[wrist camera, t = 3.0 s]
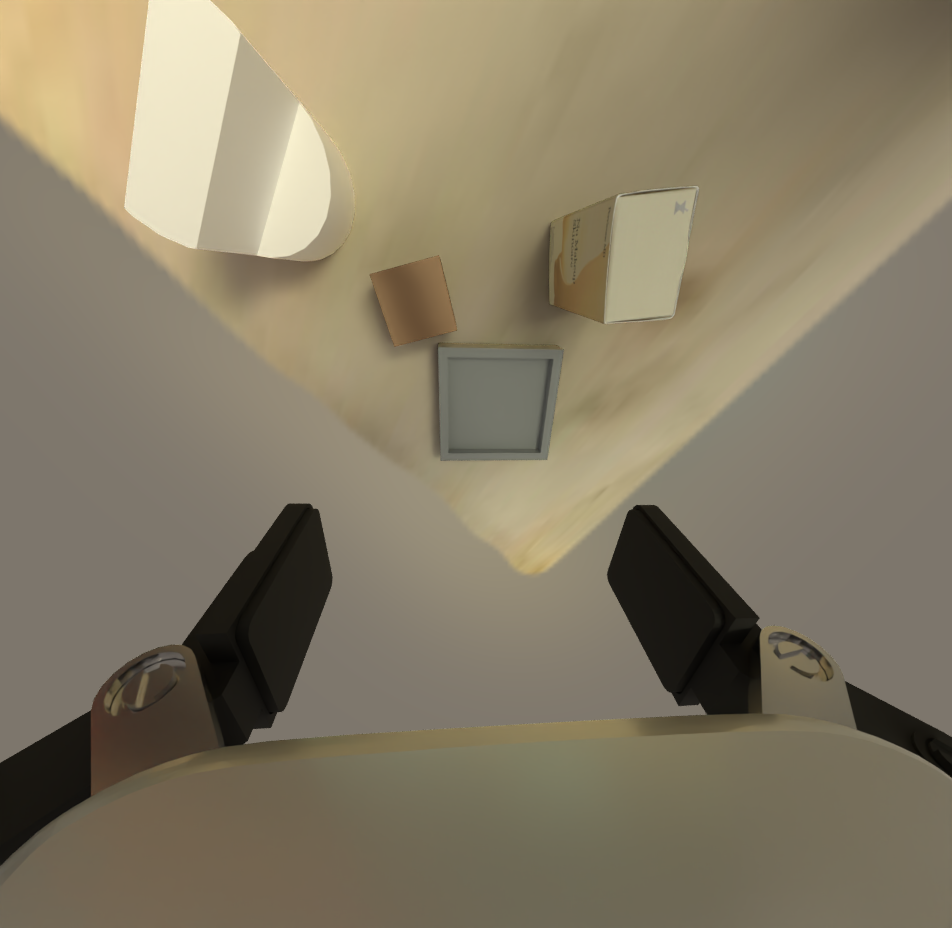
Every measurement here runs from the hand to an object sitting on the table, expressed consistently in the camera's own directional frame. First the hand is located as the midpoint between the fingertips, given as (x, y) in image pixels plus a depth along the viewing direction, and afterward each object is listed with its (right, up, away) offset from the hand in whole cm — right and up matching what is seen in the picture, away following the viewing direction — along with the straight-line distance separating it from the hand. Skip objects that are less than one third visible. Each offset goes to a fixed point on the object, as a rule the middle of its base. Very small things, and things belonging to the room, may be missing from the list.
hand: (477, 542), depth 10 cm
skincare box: (+8, +19, +18) cm, 28 cm away
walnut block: (-5, +17, +19) cm, 25 cm away
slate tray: (+2, +9, +23) cm, 25 cm away
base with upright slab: (-14, +23, +15) cm, 30 cm away
